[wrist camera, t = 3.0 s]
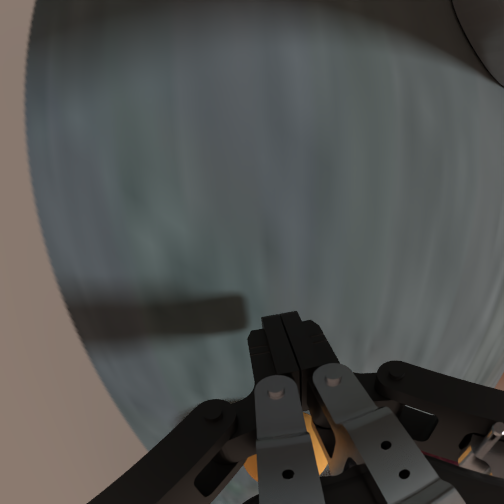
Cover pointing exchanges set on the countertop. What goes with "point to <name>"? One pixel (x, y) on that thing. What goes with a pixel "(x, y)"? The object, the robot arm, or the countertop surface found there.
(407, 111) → the countertop surface
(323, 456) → the ball
